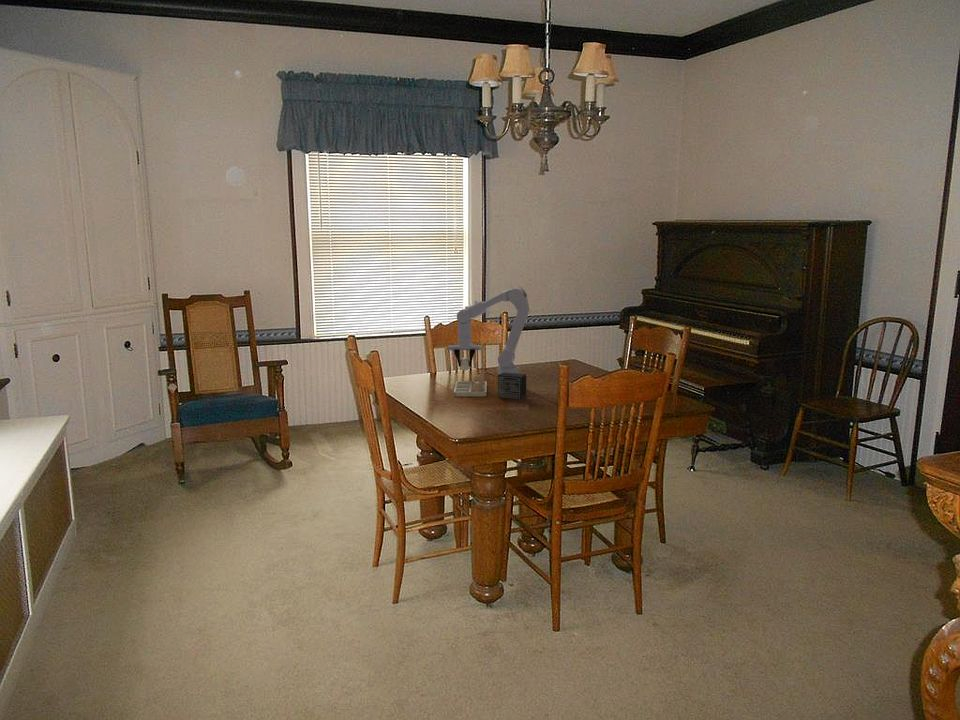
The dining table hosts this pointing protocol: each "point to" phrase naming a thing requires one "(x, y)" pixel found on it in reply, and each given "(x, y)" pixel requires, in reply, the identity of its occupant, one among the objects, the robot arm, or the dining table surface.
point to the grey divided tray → (468, 389)
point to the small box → (512, 385)
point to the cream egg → (464, 364)
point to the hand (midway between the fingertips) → (464, 366)
